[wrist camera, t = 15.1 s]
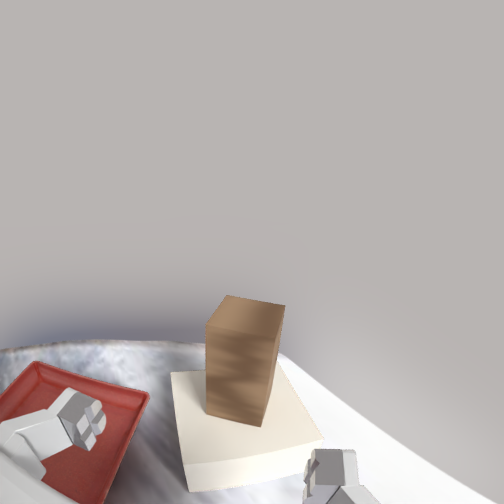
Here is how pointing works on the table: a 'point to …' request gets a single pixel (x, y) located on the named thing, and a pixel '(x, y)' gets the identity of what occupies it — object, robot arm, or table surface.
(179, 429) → the plinth
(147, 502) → the table surface
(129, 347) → the table surface
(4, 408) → the plant saucer
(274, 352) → the walnut block
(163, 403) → the table surface
